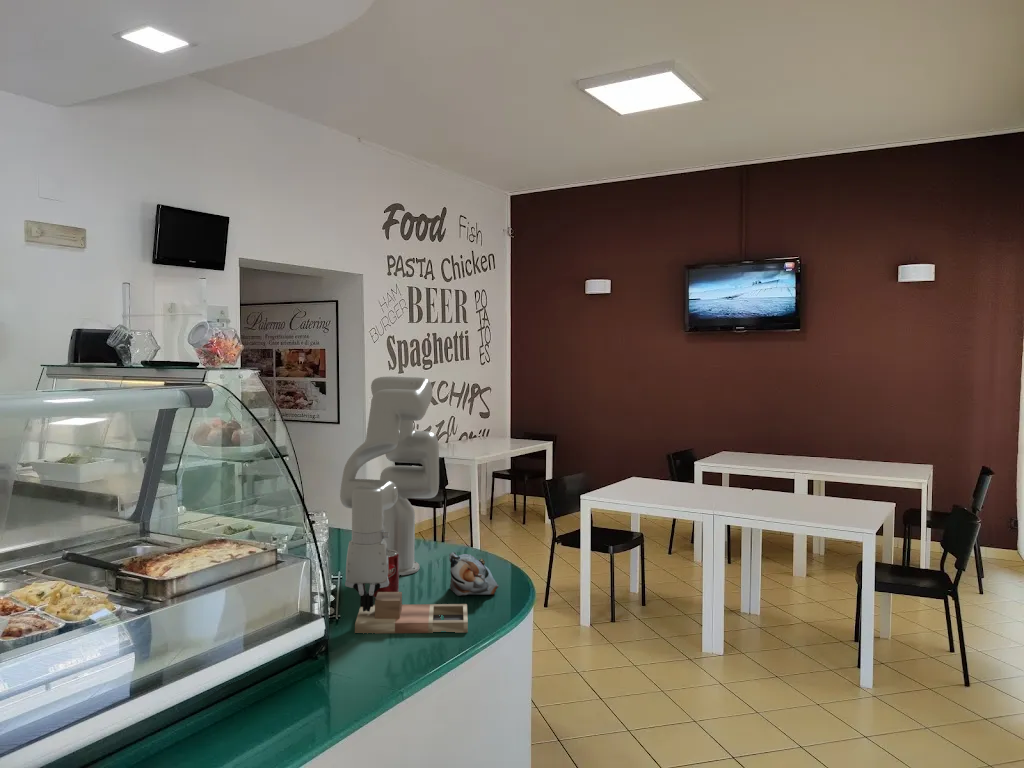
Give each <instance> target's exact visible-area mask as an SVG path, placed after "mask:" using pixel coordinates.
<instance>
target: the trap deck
mask: <svg viewBox="0 0 1024 768" xmlns="http://www.w3.org/2000/svg"><path fill="white" fill-rule="evenodd" d="M439 615H440V616H439ZM441 615H443V616H444V620H441V618H440V617H441ZM468 619H469V618H468V604H467V603H448V604H447V603H442V604H441V603H438V604H437V603H431V604H430V603H429V604H428V603H427V604H426V603H425V604H423V603H422V604H420V603H417V604H416V603H414V604H411V603H410V604H402V610H401V615H400V619H375V604H373V607H371V608H370V611H367V609H366V611H363V607H361V606H360V607H359V610H358V613H357V616H356V619H355V623H354V634H355V633H363V635H364V633H367V634H368V633H372V634H373V633H375V634H434V633H433V632H441V631H446V632H455V633H456V634H457V633H469V631H468V630H469V627H468V625H469V623H468V622H469V621H468ZM372 634H371V635H372Z"/></svg>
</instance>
